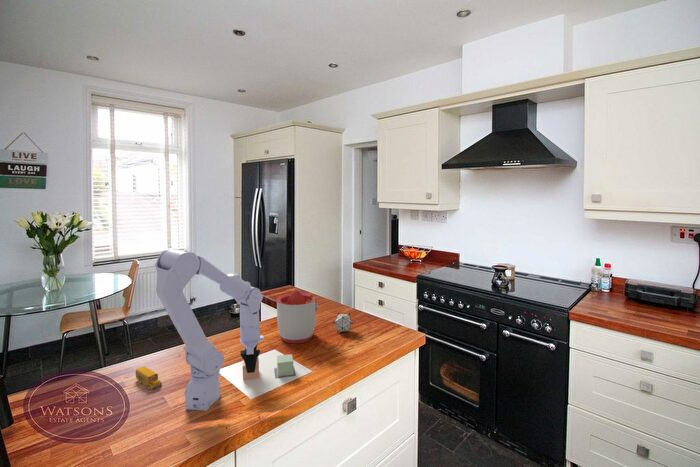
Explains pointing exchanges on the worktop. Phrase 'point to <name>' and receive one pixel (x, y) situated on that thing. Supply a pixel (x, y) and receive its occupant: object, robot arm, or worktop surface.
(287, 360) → the green brick
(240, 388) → the baseplate
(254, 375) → the terracotta brick
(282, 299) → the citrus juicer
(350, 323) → the game die
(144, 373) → the toy bus
